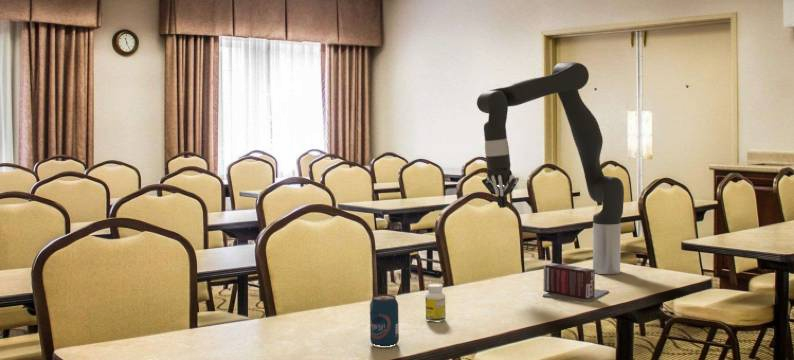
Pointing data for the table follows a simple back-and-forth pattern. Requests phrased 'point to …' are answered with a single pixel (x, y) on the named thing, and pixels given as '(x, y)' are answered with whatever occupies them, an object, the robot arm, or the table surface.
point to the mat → (596, 295)
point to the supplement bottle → (435, 303)
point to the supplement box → (569, 280)
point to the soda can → (384, 320)
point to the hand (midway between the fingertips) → (502, 207)
